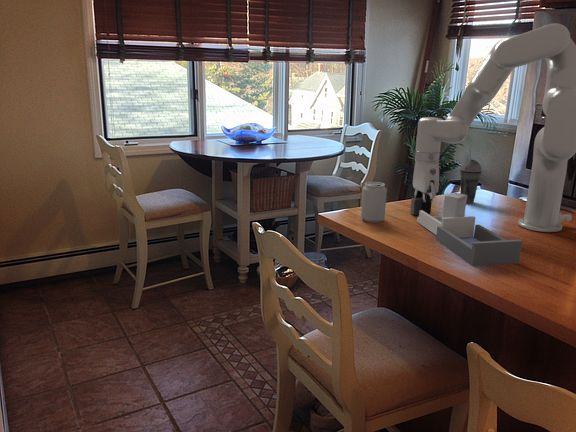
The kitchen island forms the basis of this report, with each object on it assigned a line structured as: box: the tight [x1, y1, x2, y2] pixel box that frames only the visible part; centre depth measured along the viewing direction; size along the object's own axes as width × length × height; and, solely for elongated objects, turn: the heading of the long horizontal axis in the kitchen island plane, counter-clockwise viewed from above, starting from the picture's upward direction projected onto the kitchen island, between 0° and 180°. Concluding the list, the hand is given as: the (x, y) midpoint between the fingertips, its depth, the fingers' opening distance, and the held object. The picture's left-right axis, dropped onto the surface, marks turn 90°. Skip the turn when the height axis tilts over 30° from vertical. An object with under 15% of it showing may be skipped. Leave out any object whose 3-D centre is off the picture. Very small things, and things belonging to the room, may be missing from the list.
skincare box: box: [441, 192, 467, 218], centre depth 155 cm, size 6×4×12 cm
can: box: [360, 181, 388, 224], centre depth 168 cm, size 8×8×12 cm
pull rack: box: [410, 197, 476, 239], centre depth 164 cm, size 10×26×6 cm, turn 11°
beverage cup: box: [459, 146, 482, 205], centre depth 190 cm, size 7×7×20 cm
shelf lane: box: [435, 224, 523, 267], centre depth 143 cm, size 13×20×6 cm, turn 11°
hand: (421, 210), depth 175 cm, fingers closed on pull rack, 4 cm apart
